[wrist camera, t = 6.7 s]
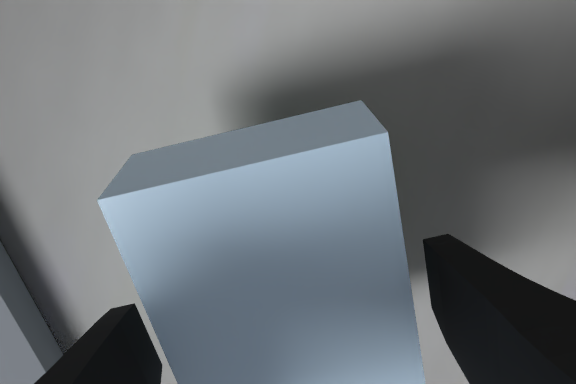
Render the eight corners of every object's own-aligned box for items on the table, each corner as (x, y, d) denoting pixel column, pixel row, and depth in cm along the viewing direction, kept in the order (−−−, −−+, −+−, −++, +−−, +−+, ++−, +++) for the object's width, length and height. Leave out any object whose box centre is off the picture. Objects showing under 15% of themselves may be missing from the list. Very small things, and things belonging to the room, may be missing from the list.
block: (404, 356, 14) (432, 430, 12) (224, 393, 15) (217, 473, 12) (361, 99, 11) (388, 132, 9) (131, 154, 11) (96, 200, 9)
